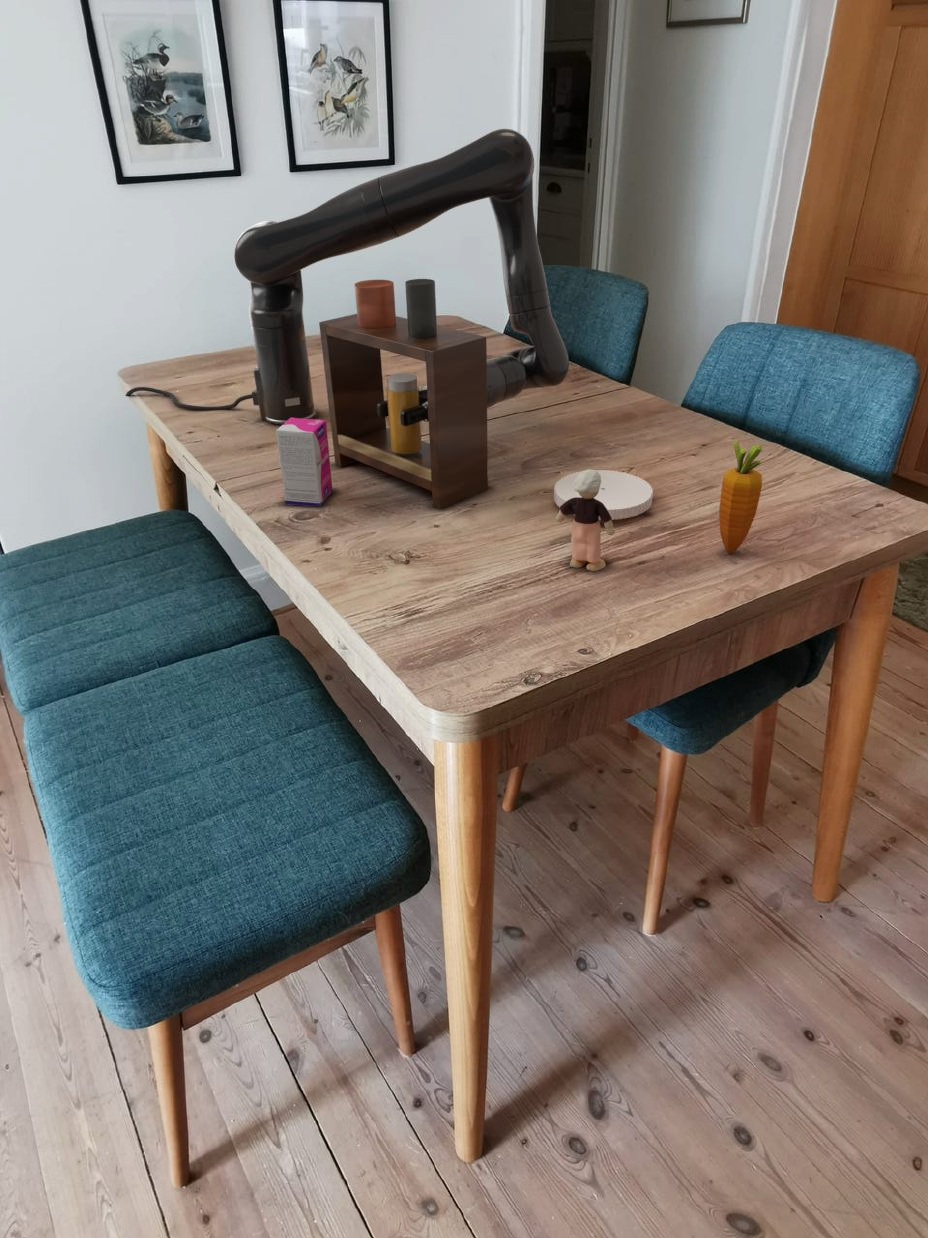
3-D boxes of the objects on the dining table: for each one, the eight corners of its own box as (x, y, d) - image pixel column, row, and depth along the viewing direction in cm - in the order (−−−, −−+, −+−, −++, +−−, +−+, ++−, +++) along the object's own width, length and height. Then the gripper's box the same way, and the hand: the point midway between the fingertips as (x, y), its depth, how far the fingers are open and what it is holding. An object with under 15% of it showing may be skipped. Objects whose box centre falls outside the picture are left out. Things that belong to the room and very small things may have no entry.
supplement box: (322, 507, 122) (312, 432, 116) (284, 504, 123) (272, 430, 117) (334, 491, 127) (326, 418, 121) (298, 488, 128) (288, 416, 122)
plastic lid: (551, 485, 127) (551, 470, 125) (643, 485, 126) (644, 469, 125) (556, 526, 115) (557, 510, 114) (658, 526, 114) (660, 509, 113)
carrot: (705, 545, 109) (721, 436, 101) (741, 543, 110) (761, 434, 102) (717, 563, 105) (736, 451, 97) (756, 561, 105) (777, 448, 97)
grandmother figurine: (615, 560, 106) (623, 467, 100) (610, 574, 103) (617, 480, 97) (557, 552, 109) (560, 461, 102) (550, 566, 106) (553, 473, 99)
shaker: (384, 448, 129) (379, 377, 123) (407, 440, 132) (403, 370, 126) (404, 456, 126) (400, 384, 120) (428, 447, 129) (424, 377, 123)
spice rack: (335, 464, 136) (313, 271, 120) (382, 448, 142) (367, 261, 126) (440, 509, 121) (430, 295, 105) (488, 488, 126) (486, 282, 110)
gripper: (440, 356, 136) (358, 380, 126) (503, 373, 127) (421, 400, 117) (441, 401, 140) (362, 428, 130) (503, 421, 131) (423, 451, 122)
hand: (390, 414), depth 124 cm, fingers closed on shaker, 4 cm apart
